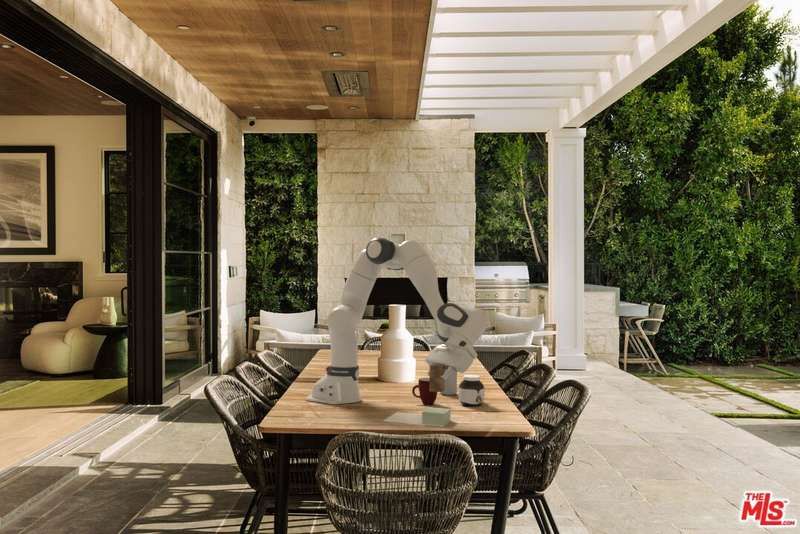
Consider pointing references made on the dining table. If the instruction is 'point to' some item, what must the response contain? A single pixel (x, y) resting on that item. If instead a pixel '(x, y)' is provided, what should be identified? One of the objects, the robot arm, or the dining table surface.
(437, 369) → the pillar
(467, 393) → the spread jar
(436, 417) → the base block
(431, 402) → the mug
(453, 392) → the can
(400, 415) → the tile
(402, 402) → the dining table surface
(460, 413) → the dining table surface
